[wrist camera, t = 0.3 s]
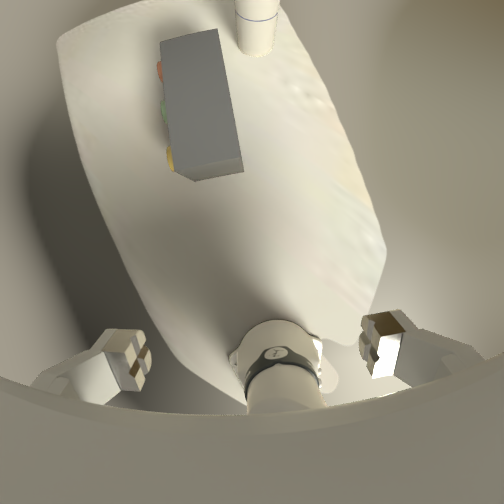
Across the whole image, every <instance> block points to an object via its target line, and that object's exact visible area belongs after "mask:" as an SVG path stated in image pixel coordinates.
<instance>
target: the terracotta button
mask: <svg viewBox="0 0 504 504" xmlns="http://www.w3.org/2000/svg"><path fill="white" fill-rule="evenodd" d="M157 70H158V75H159V78H160V80H161V82H162V83H163V76H162V64H161V61H160V62H158V63H157Z"/></svg>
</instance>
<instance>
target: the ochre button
mask: <svg viewBox="0 0 504 504" xmlns="http://www.w3.org/2000/svg"><path fill="white" fill-rule="evenodd" d="M167 160H168V164H169V167H170V169H171V170H172V171H173V172H174V166H173V159H172V153H171V146H168V147H167Z"/></svg>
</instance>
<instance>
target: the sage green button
mask: <svg viewBox="0 0 504 504" xmlns="http://www.w3.org/2000/svg"><path fill="white" fill-rule="evenodd" d="M161 112H162V116H163V119H164V121H165V123H166V124H168V123H167V114H166V106H165V100H164V101H161Z"/></svg>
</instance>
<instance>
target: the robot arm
mask: <svg viewBox="0 0 504 504" xmlns="http://www.w3.org/2000/svg"><path fill="white" fill-rule="evenodd" d="M361 327H362V329H363V330H364V331H363V332H362V333H361V334H360V336H359V351H360V355H361V357H362V359H363V360H365V361H367V368H368V370H369V372H370V374H371V376H372V378H375V377H380V376H385V375H390V374H393V375H394V376H396V377H397V378H399V379H400V380H402V381H403V382H405V383H407V384H408V385H410V386H411V387H412V388H409V389H406V390H402V391H398V392H395V393H391V394H387V395H383V396H379V397H375V398H370V399H366V400H362V401H356V402H351V403H346V404H341V405H335V406H329V407H328V406H327V404H326V403H325V401H324V399H323V397H322V395H321V392H320V390H319V389H321V379H319V378H318V375H321V368H320V361H321V354H322V341H321V340H320V339H318V338H316V337H313V336H310V335H309V334H307V333H306V332H305V331H304V330H303V329H302V328H301V327H300V326H298V325H296V324H295V323H292V322H289V321H285V320H270V321H266V322H263V323H260V324H258V325H256V326H255V327H253V328H252V329H251V330H250V331H249V332H248V333H247V334H246V335H245V336H244V338H243V340H242V342H241V344H240V346H239V347H238V348H237V349H236V350H235V351H234V352H233V353H231V355H230V356H229V362H230V364H231V366H232V368H233V370H234V372H235V374H236V376H237V378H238V379H239V381H240V383H241V385H242V387H243V389H244V393H245V398H246V401H247V415H191V414H173V413H160V412H150V411H141V410H132V409H125V408H119V407H112V406H106V405H104V404H105V403H106V402H107V401H109V400H110V399H111V398H113V397H114V396H115V395H116V394H117V393H119V392H120V390H129V391H141V389H142V386H143V384H144V382H145V378H144V375H145V374H147V373H148V372H149V370H150V368H151V361H152V360H151V354H150V351H149V349H148V348H147V347H146V346H145V345H144V343H145V341H146V338H145V335H144V332H142V331H141V330H129V329H106V330H105V331H104V332H103V334H102V335H101V336H100V337H99V339H98V340H97V341H96V342H95V344H94V345H93V347H92V348H91V349H90V350H85V351H84V352H81V353H79V354H77V355H75V356H73V357H71V358H69V359H67V360H65V361H63V362H61V363H59V364H57V365H55V366H52V367H50V368H48V369H46V370H44V371H42V372H41V373H40V374H39V376H38V377H37V378H36V379H35V380H34V382H33V383H32V384H31V385H30V387H29V386H26V385H23V384H20V383H17V382H14V381H11V380H8V379H6V378H3V377H1V376H0V504H504V352H502V353H500V354H498V355H496V356H494V357H492V358H490V359H487V360H485V359H484V358H483V357H482V356H481V355H480V354H479V353H478V352H477V351H476V350H475V349H474V348H473V347H472V346H470V345H467V344H464V343H461V342H459V341H456V340H453V339H450V338H447V337H444V336H441V335H439V334H436V333H433V332H430V331H427V330H424V329H418V328H417V327H416V326H415V325H414V324H413V322H412V321H411V320H410V319H409V318H408V317H407V316H406V315H405V314H404V313H403V312H402V311H401V310H399V309H396V310H391V311H387V312H382V313H376V314H371V315H365V316H363V317H362V320H361ZM316 349H317V350H316ZM235 363H237V364H235Z"/></svg>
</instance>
